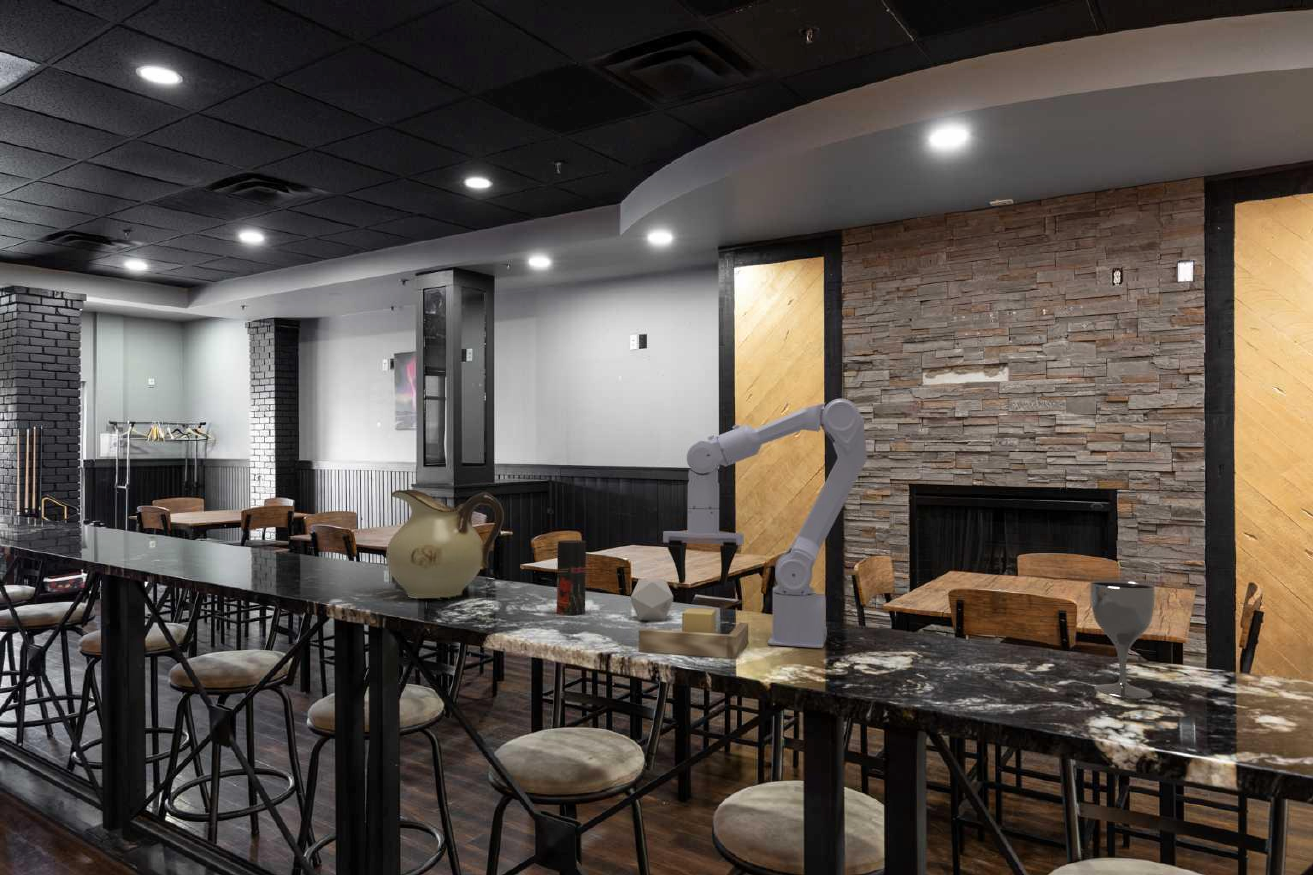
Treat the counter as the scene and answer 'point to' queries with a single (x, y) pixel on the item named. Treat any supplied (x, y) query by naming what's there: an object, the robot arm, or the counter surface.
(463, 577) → the pitcher
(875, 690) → the counter surface
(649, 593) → the die
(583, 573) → the deodorant
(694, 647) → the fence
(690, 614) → the block
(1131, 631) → the wine glass
